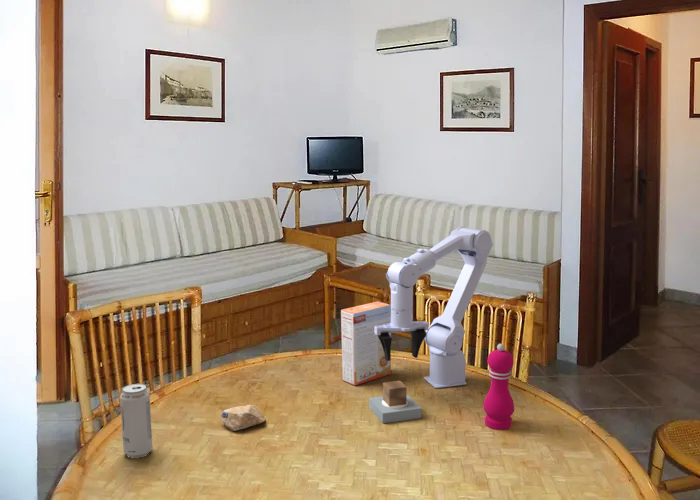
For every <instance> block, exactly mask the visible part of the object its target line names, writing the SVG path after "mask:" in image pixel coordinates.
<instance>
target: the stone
mask: <svg viewBox="0 0 700 500" xmlns="http://www.w3.org/2000/svg"><path fill="white" fill-rule="evenodd" d="M220 421H221V422H222V423H223V424H224V426H225V428H227V429H229V430H230V431H231V432H232V431H233V432H237V431H239V430H243V429H247V428H250V427H253V426H256V425H261V424H262V423H265V421H267V419H266V418H265V416H264V415H263V414H262V411H261V410H260V409H259V408H258V407H257V406H256V405H255V404H247V405H239V406H233V407H231V408H228V409H225V410H223V412H221V414H220Z"/></svg>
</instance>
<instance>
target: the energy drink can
mask: <svg viewBox="0 0 700 500" xmlns="http://www.w3.org/2000/svg"><path fill="white" fill-rule="evenodd" d="M150 397H151V396H150V392H149V391H148V390H147V386H146V385H145V384H143V383H134V384H133V383H132V384H128V385H125V386H124V387H123V388H122V392H121V394H120V396H119V400H120V402H119V403H120V418H121V431H122V445H123V447H122V448H123V454H125V455H126V454H127V455H126V457H127V456H129V457H133V458H132V459H134V458H135V459H138V458H137V457H142V458H144V457H143V456H145V455H147V454H148V453H149V452H150V453H151V450H152V449H153V434H152V433H153V432H152V419H151V418H152V413H151V399H150ZM150 453H149V454H150ZM149 454H148V455H149ZM148 455H147V456H148ZM129 457H128V458H129ZM145 457H146V456H145Z"/></svg>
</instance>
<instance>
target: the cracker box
mask: <svg viewBox="0 0 700 500" xmlns="http://www.w3.org/2000/svg"><path fill="white" fill-rule="evenodd" d="M388 323H391V304H388V303H385V302H382V301H374V302H370V303H365V304H361V305H356V306H353V307H347V308H343V309H341V310H340V324H341V325H340V326H341V327H340V329H341V330H340V333H341V372H342V373H341V374H342V375H341V376H342V377H341V378H342V379H341V380H342V381H343V382H345V383H348V384H350V385H353V386H354V387H355V386H359V385H361V384H364V383H368V382H371V381H373V380H376V379H377V380H378V379H379V378H383V377H386V376H389V375H391V374H392V373H391V372H392V367H391V365H392V361H391V360H392V359H391V360H390V361H387V360H386V359H385V354H384V350H383V347H382V344H381V342H380V340H379V338H378V336H377V335H376V334H375V333H374V326H379V325H384V324H388ZM389 335H390V337H391V335H392V333H389ZM391 338H392V337H391Z"/></svg>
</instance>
